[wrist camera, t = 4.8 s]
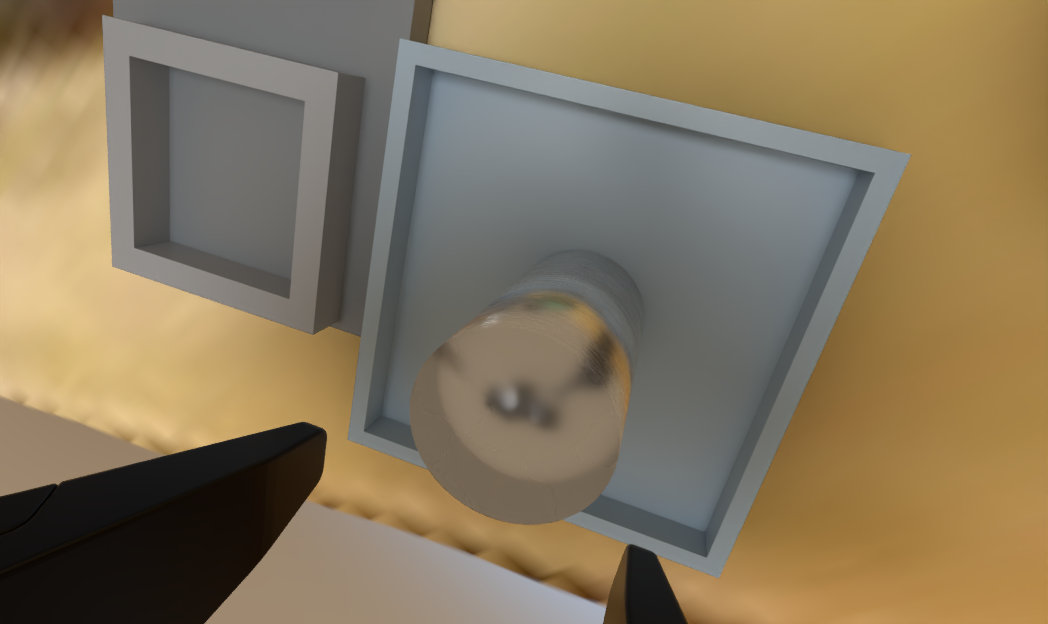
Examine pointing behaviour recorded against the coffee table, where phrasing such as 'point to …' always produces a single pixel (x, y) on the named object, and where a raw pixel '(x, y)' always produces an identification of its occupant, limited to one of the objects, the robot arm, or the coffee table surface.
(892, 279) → the coffee table surface
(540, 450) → the cylinder
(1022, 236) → the coffee table surface
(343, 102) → the grey flat frame
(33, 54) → the coffee table surface
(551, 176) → the blue gray square tray
